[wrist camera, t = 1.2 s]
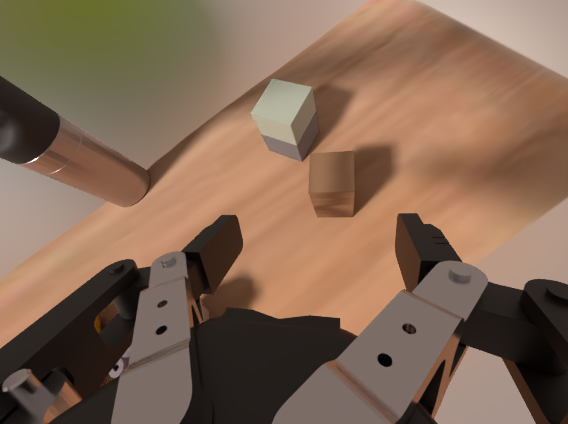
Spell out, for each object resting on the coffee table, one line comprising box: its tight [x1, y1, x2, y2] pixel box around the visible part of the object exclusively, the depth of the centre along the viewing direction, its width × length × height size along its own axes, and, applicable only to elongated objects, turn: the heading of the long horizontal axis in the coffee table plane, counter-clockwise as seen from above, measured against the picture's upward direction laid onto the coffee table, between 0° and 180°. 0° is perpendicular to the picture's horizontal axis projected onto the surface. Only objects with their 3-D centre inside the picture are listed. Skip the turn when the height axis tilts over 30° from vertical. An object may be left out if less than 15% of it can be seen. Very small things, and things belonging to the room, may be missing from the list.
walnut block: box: [309, 151, 355, 217], centre depth 34 cm, size 6×6×10 cm
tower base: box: [261, 112, 319, 162], centre depth 43 cm, size 7×7×5 cm
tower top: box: [251, 79, 316, 145], centre depth 38 cm, size 7×7×5 cm
